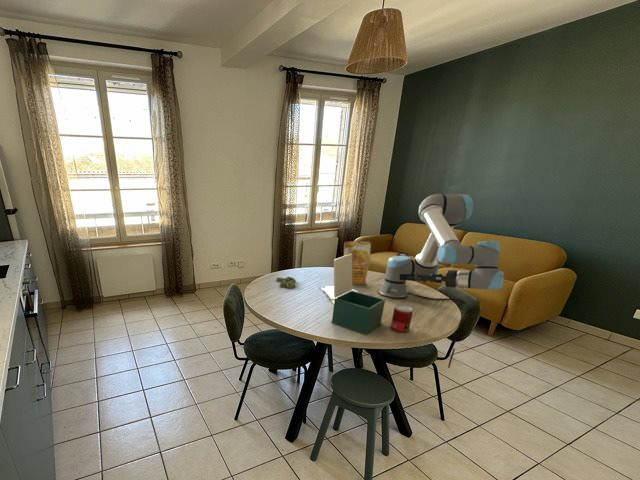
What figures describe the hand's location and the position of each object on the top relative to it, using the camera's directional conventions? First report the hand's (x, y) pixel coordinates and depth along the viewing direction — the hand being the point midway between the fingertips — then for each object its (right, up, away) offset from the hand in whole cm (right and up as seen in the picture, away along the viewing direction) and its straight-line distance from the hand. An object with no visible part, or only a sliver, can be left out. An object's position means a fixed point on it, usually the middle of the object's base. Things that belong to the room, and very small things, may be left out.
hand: (403, 277), depth 155 cm
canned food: (-1, -25, +2) cm, 25 cm away
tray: (-15, -8, +44) cm, 47 cm away
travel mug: (+29, 0, +66) cm, 72 cm away
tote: (-20, -22, +7) cm, 31 cm away
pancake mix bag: (-1, +1, +66) cm, 66 cm away
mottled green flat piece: (-46, 0, +63) cm, 78 cm away
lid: (-27, +1, +5) cm, 27 cm away
